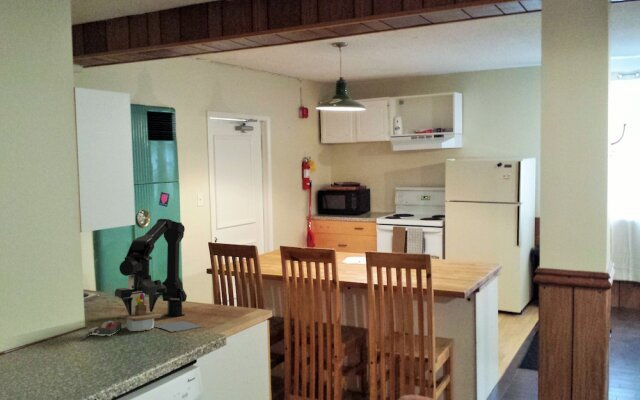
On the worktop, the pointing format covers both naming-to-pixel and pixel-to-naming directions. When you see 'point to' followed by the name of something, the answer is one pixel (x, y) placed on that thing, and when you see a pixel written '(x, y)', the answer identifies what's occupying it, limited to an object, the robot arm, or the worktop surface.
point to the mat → (178, 326)
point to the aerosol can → (135, 295)
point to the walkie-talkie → (105, 328)
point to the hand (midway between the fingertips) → (140, 313)
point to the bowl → (140, 324)
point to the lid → (140, 314)
